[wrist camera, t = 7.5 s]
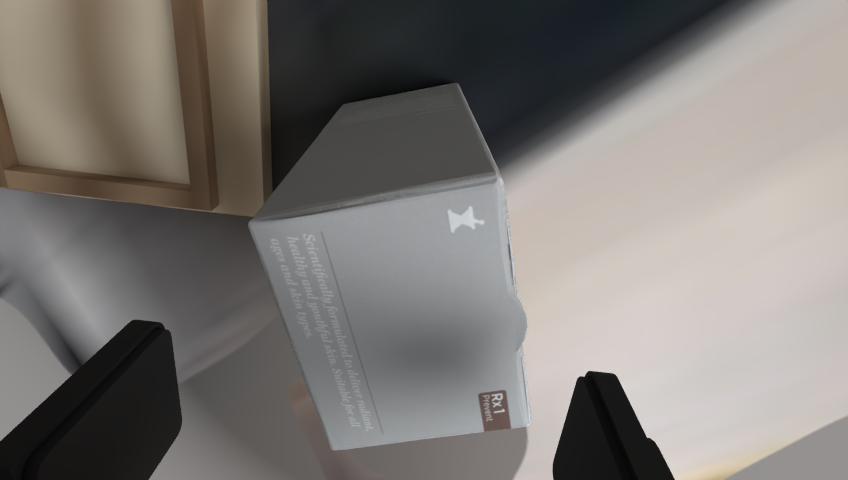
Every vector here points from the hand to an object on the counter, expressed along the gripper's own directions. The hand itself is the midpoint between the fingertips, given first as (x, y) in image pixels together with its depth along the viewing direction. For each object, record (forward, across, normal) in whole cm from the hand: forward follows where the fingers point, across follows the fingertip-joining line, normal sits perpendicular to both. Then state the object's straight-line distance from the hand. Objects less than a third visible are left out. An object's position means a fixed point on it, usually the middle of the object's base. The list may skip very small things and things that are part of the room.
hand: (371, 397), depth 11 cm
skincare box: (+18, 0, -1) cm, 18 cm away
